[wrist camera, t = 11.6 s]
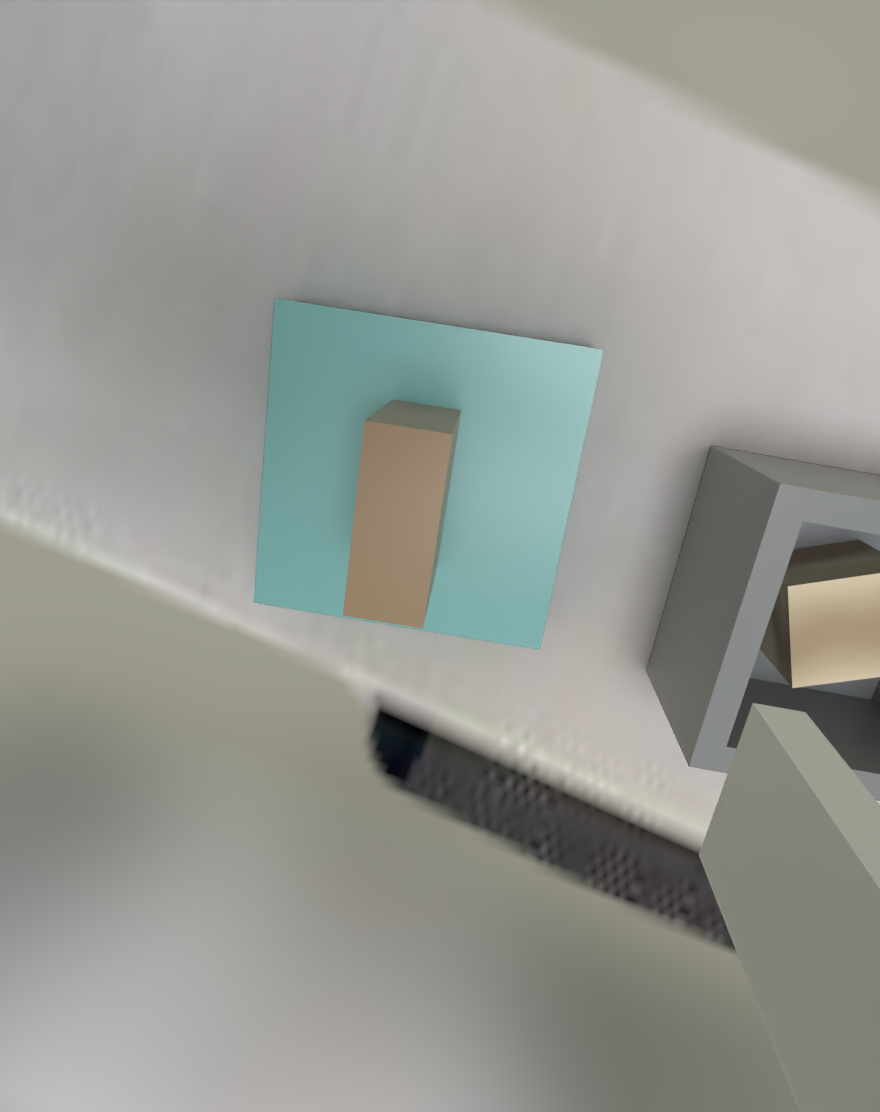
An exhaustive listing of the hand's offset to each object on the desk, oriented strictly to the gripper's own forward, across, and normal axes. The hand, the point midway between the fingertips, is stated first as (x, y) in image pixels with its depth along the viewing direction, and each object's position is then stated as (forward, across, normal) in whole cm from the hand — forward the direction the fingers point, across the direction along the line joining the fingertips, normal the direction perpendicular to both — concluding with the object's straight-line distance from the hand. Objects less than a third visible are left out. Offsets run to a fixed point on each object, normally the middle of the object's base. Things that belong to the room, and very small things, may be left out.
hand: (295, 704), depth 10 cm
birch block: (+18, +16, -2) cm, 24 cm away
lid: (+19, 0, -1) cm, 19 cm away
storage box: (+19, +16, -2) cm, 25 cm away
